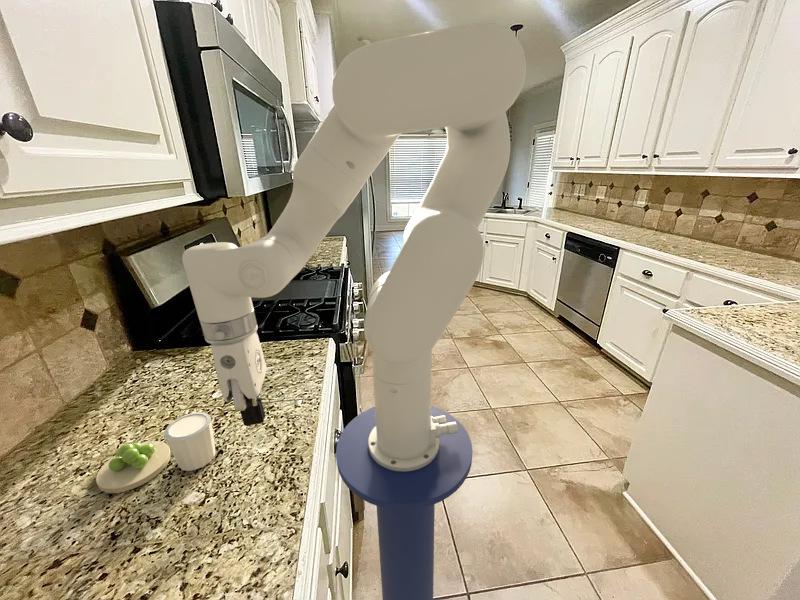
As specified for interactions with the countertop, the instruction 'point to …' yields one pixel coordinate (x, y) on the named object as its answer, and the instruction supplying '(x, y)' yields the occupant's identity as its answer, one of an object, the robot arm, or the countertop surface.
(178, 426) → the white ramekin
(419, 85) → the robot arm
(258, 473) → the countertop surface
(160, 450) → the grape dish
